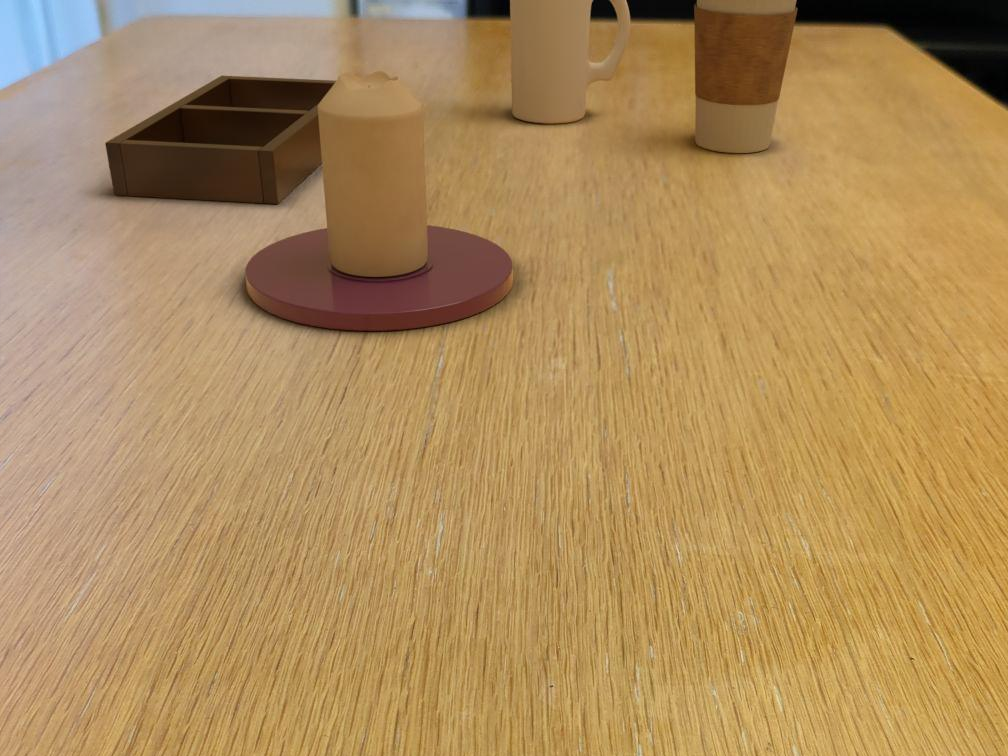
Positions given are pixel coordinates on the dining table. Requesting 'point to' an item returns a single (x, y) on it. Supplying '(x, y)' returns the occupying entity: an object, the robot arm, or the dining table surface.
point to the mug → (557, 57)
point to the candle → (374, 176)
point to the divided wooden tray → (224, 142)
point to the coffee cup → (739, 71)
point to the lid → (379, 284)
